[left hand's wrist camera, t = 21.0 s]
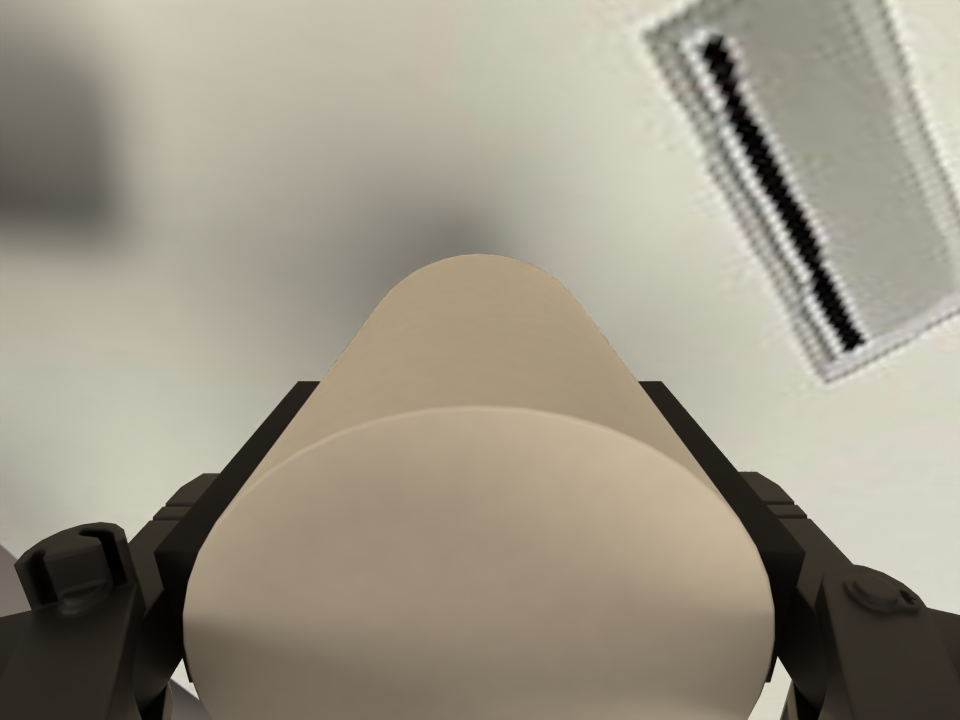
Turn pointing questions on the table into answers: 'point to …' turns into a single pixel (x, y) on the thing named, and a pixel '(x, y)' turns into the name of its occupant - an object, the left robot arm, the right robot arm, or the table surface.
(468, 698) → the can
